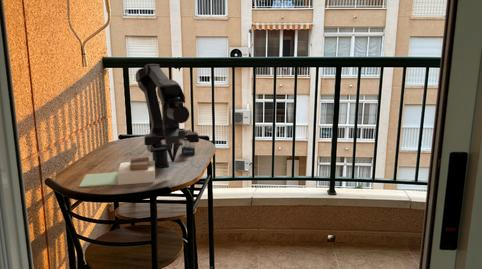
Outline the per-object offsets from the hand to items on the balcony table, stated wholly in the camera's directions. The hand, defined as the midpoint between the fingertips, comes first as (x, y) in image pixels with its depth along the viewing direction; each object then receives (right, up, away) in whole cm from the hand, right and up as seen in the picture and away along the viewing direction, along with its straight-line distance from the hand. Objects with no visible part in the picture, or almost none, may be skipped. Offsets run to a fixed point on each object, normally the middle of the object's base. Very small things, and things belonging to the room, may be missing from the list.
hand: (172, 161), depth 144 cm
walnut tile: (-11, -2, -2) cm, 12 cm away
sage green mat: (-24, -6, -4) cm, 25 cm away
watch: (+2, +1, +30) cm, 30 cm away
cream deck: (-12, -6, -1) cm, 14 cm away
